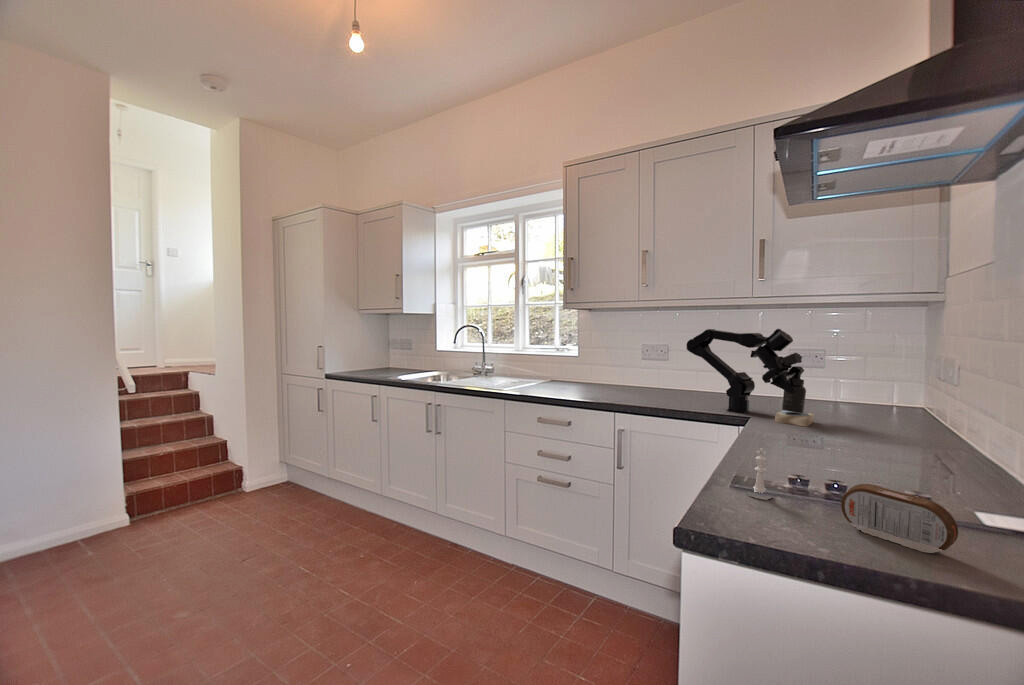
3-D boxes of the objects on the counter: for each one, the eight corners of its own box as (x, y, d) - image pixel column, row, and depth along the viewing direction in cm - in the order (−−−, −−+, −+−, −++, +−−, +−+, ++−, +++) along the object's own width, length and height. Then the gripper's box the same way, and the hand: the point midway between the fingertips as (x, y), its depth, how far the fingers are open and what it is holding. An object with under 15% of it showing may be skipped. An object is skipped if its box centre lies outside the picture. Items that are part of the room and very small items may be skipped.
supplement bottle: (807, 414, 161) (811, 380, 161) (786, 411, 162) (790, 377, 163) (798, 411, 168) (802, 379, 168) (778, 409, 169) (782, 377, 169)
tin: (956, 558, 71) (960, 505, 71) (951, 564, 69) (955, 510, 69) (844, 522, 83) (846, 477, 83) (837, 526, 82) (839, 480, 81)
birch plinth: (774, 421, 166) (775, 413, 166) (782, 417, 173) (782, 409, 173) (806, 426, 159) (807, 417, 159) (813, 422, 166) (813, 413, 166)
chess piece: (746, 489, 99) (748, 444, 98) (772, 494, 96) (774, 447, 96) (745, 497, 94) (747, 450, 94) (773, 502, 92) (775, 453, 92)
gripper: (772, 345, 163) (803, 380, 154) (800, 345, 172) (830, 377, 164) (750, 365, 170) (778, 399, 161) (778, 363, 180) (806, 395, 171)
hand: (799, 392), depth 164 cm, fingers closed on supplement bottle, 6 cm apart
